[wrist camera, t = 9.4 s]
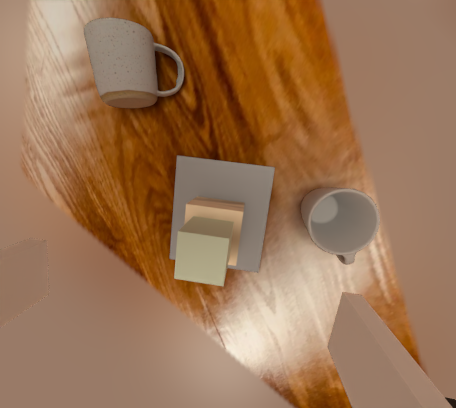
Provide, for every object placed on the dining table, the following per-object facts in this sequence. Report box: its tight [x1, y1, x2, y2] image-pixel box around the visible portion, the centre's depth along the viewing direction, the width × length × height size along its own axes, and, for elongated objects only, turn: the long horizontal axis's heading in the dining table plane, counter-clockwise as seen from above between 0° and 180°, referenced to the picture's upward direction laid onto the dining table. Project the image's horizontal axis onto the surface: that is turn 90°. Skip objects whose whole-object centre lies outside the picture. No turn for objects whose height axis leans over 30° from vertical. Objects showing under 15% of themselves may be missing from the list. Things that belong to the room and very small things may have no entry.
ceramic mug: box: [84, 18, 184, 108], centre depth 28 cm, size 11×8×8 cm
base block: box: [184, 196, 245, 266], centre depth 31 cm, size 7×7×6 cm
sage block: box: [174, 216, 234, 286], centre depth 25 cm, size 5×5×6 cm
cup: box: [301, 188, 380, 265], centre depth 29 cm, size 8×10×8 cm
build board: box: [170, 156, 275, 273], centre depth 34 cm, size 16×14×1 cm
